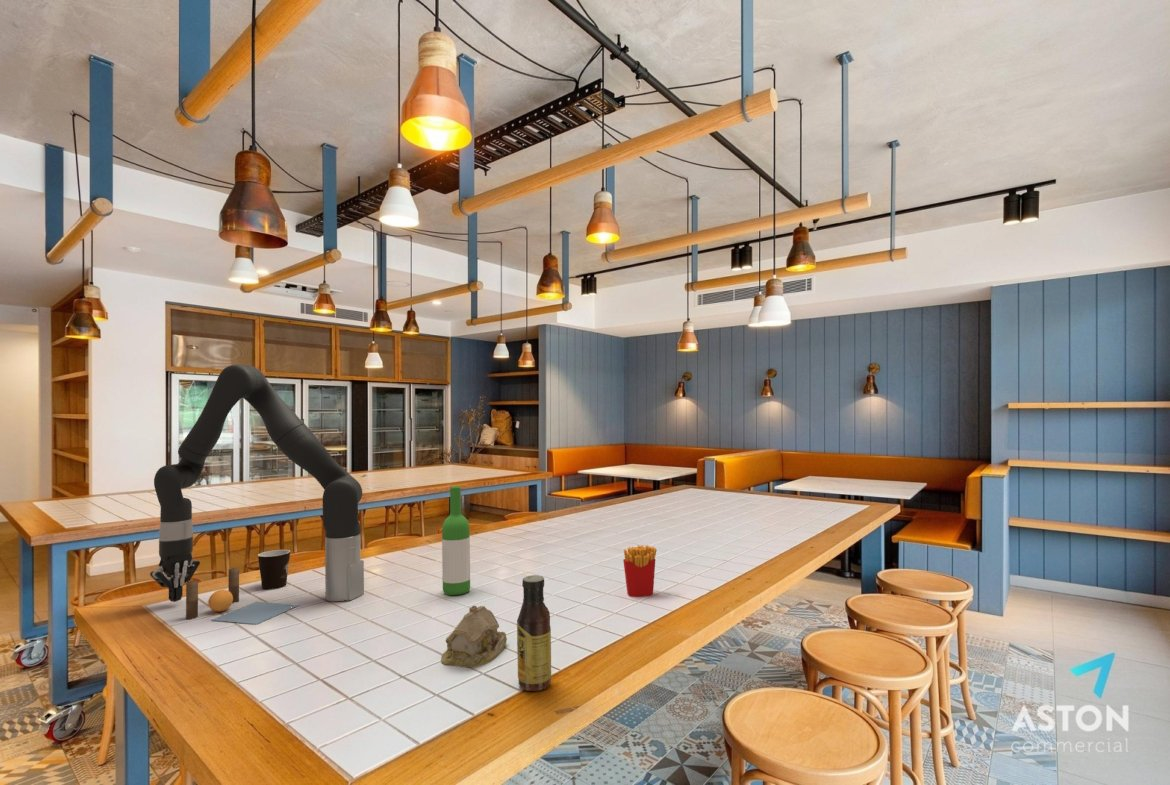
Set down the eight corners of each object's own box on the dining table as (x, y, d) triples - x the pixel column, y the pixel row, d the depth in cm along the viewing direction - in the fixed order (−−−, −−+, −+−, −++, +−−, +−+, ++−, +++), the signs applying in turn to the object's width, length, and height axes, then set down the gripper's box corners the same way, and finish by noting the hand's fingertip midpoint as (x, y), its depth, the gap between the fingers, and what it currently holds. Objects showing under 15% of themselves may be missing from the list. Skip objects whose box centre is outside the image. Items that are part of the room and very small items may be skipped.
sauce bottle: (518, 678, 107) (516, 573, 108) (551, 676, 107) (549, 571, 108) (517, 695, 100) (515, 583, 101) (552, 693, 101) (550, 581, 102)
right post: (241, 600, 157) (241, 568, 157) (233, 603, 155) (233, 570, 155) (233, 599, 158) (234, 567, 158) (226, 602, 155) (226, 570, 156)
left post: (200, 616, 145) (200, 581, 145) (191, 619, 143) (191, 583, 143) (192, 615, 146) (192, 580, 146) (183, 619, 143) (183, 583, 144)
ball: (234, 611, 151) (240, 592, 151) (215, 618, 146) (222, 598, 145) (219, 602, 152) (225, 583, 152) (200, 608, 147) (207, 589, 147)
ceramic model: (474, 673, 110) (474, 621, 110) (431, 662, 115) (430, 613, 115) (515, 646, 123) (514, 599, 123) (474, 637, 128) (473, 593, 128)
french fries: (626, 597, 152) (625, 549, 153) (623, 593, 157) (621, 546, 157) (659, 595, 154) (658, 547, 155) (654, 590, 158) (653, 543, 159)
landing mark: (298, 605, 152) (298, 604, 152) (256, 624, 138) (256, 623, 138) (256, 602, 155) (256, 601, 155) (211, 620, 142) (211, 619, 142)
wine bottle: (446, 598, 155) (445, 489, 157) (439, 590, 162) (438, 486, 164) (473, 593, 159) (472, 487, 160) (466, 586, 166) (464, 484, 167)
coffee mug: (276, 591, 165) (276, 557, 165) (250, 590, 167) (251, 556, 167) (303, 579, 176) (303, 547, 177) (279, 578, 178) (279, 547, 178)
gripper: (163, 542, 147) (162, 609, 146) (208, 532, 160) (208, 594, 159) (141, 541, 149) (140, 608, 148) (187, 531, 162) (187, 592, 161)
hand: (175, 600), depth 154 cm, fingers closed
